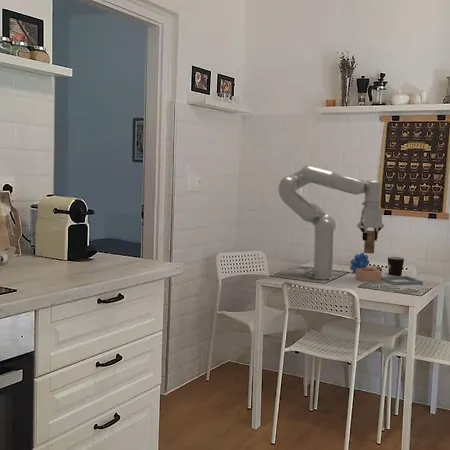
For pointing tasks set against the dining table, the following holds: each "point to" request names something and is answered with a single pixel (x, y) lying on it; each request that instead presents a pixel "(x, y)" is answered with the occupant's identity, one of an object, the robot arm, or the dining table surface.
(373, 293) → the dining table surface
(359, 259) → the grapes
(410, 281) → the tray
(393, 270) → the coffee mug
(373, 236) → the tan upright block
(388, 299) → the dining table surface
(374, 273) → the orange block with hole
